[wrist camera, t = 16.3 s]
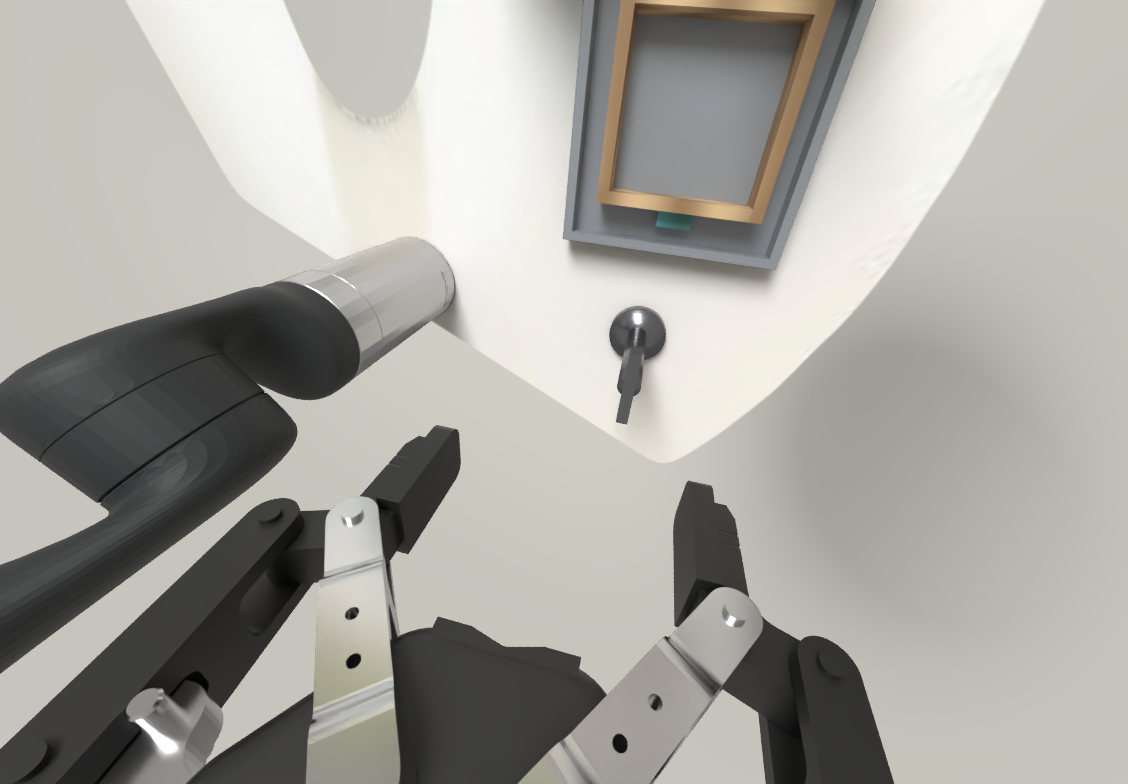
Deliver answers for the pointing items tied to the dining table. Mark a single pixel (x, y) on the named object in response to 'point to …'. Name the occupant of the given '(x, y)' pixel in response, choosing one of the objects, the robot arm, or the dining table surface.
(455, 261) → the dining table surface
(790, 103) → the wooden frame
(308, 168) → the dining table surface
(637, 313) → the grey metal stand
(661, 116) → the tray
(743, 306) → the dining table surface
